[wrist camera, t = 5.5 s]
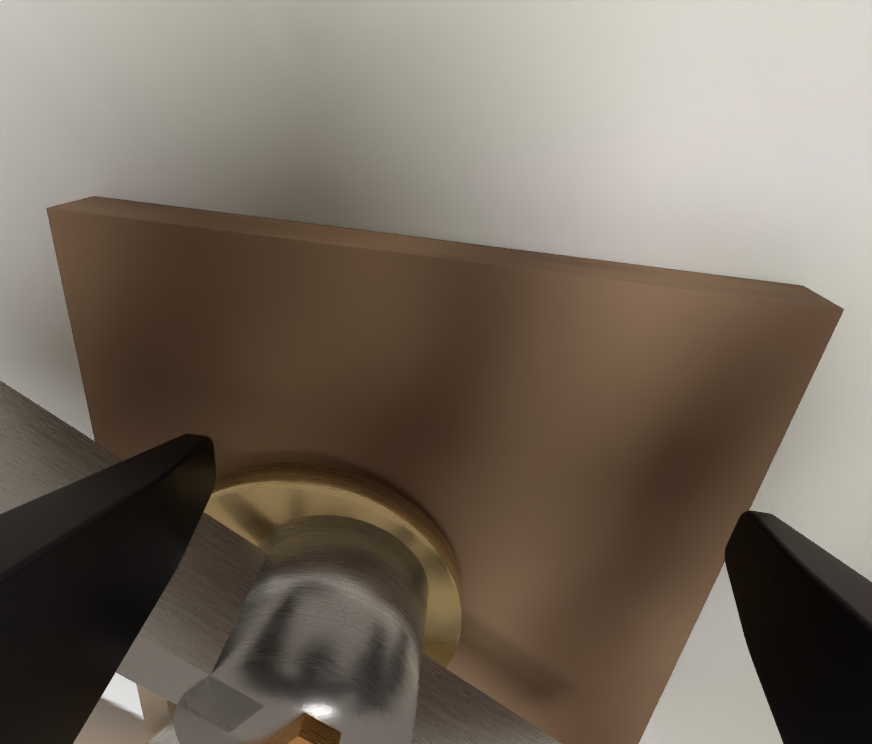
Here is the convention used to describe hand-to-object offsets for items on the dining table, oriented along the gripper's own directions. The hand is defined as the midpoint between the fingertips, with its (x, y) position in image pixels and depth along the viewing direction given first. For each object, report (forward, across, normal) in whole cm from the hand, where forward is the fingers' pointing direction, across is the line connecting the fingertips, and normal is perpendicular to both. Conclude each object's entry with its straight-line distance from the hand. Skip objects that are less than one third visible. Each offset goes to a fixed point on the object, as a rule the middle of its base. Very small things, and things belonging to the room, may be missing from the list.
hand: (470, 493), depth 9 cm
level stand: (+5, +1, +5) cm, 7 cm away
